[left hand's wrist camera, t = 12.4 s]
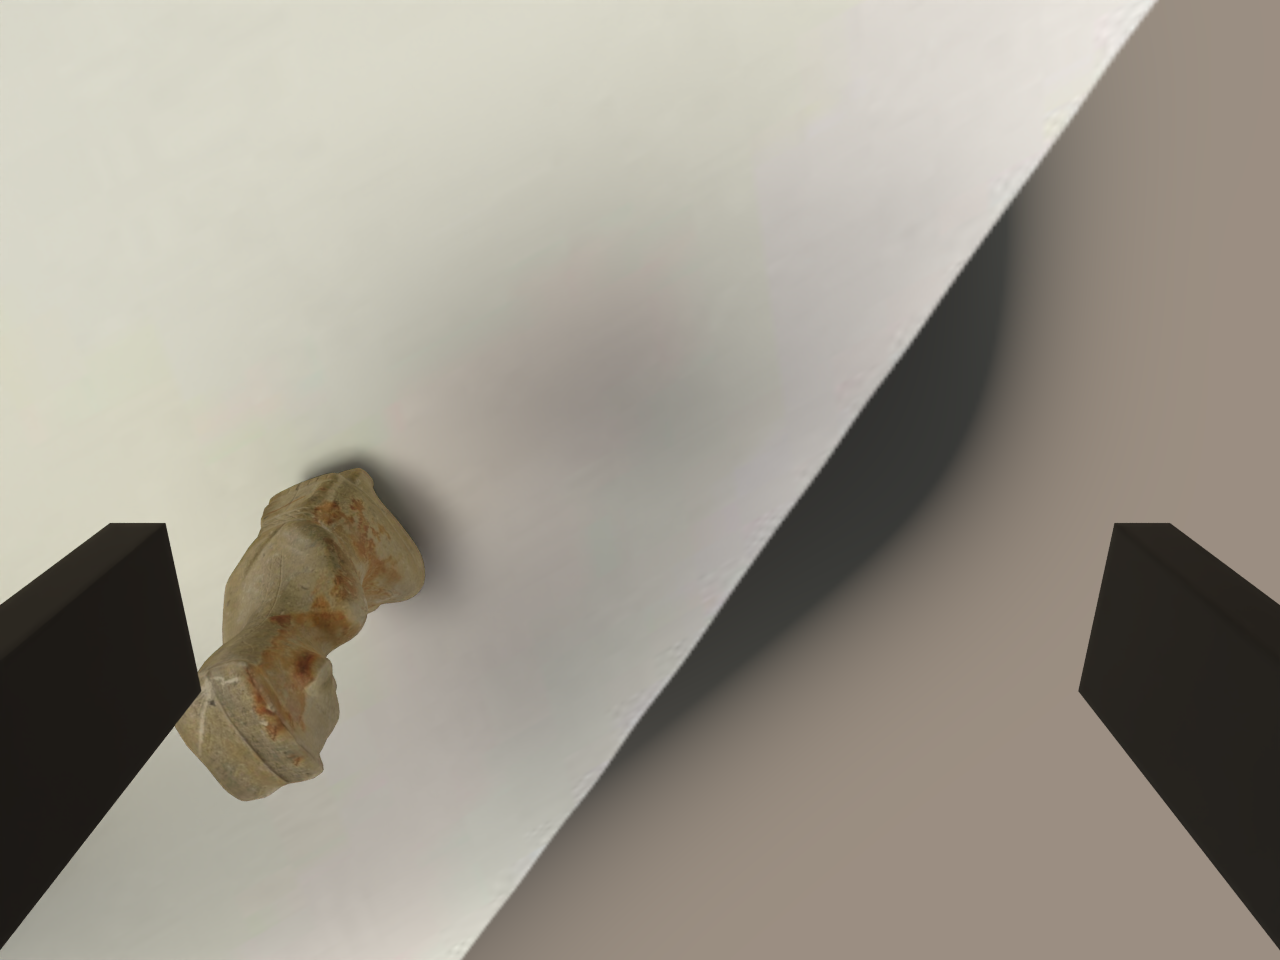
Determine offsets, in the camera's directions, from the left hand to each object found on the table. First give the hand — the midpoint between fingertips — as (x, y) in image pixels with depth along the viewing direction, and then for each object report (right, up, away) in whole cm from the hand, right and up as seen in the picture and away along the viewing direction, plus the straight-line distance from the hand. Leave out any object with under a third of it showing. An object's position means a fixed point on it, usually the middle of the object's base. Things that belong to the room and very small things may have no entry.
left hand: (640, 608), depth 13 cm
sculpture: (-13, 0, +29) cm, 32 cm away
